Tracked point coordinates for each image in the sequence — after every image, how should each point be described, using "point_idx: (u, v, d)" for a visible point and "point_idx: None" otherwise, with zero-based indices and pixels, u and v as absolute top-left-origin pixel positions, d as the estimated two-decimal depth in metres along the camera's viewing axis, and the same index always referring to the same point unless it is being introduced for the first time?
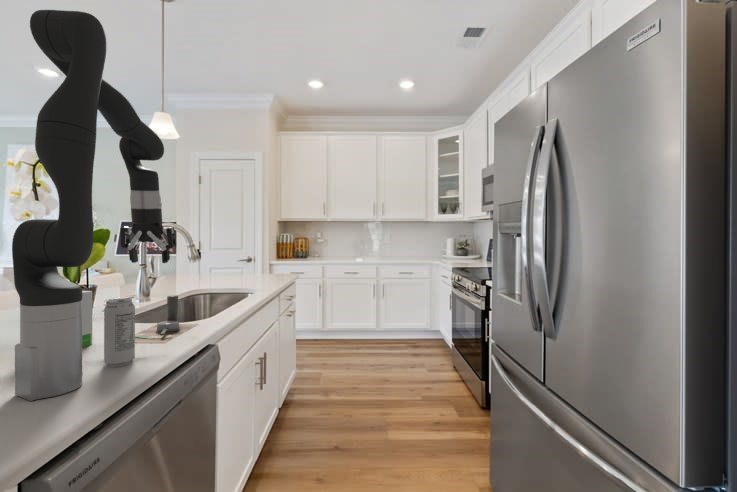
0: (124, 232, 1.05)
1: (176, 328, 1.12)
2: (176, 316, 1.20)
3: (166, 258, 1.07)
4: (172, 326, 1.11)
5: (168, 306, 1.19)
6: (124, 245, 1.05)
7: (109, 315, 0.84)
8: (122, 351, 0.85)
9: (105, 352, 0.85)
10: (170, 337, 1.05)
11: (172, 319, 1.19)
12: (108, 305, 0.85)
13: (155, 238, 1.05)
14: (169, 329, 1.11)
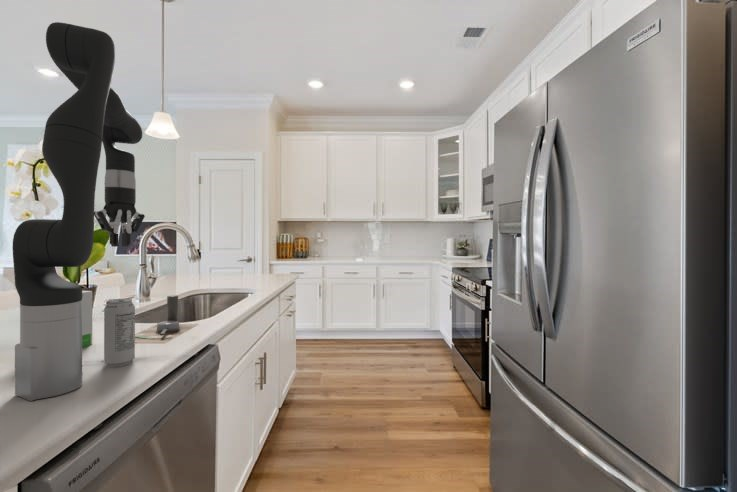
0: (103, 215, 1.03)
1: (176, 328, 1.12)
2: (176, 316, 1.20)
3: (129, 241, 1.10)
4: (172, 326, 1.11)
5: (168, 306, 1.19)
6: (110, 228, 1.04)
7: (109, 315, 0.84)
8: (122, 351, 0.85)
9: (105, 352, 0.85)
10: (170, 337, 1.05)
11: (172, 319, 1.19)
12: (108, 305, 0.85)
13: (129, 219, 1.09)
14: (169, 329, 1.11)
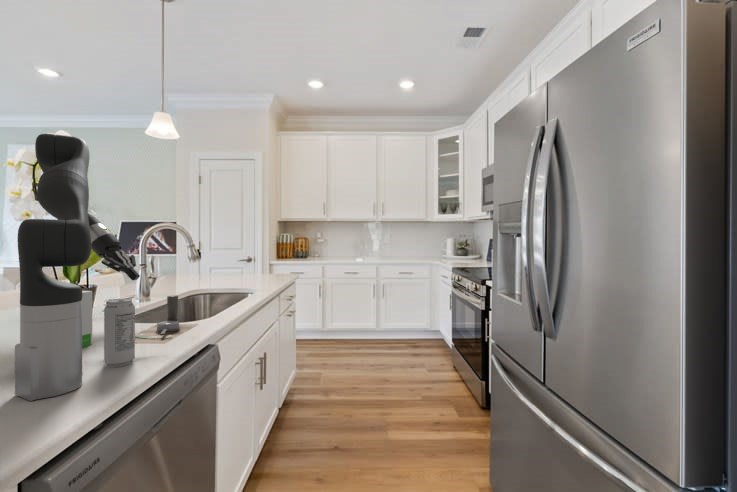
0: (111, 258, 1.17)
1: (176, 328, 1.12)
2: (176, 316, 1.20)
3: (137, 273, 1.22)
4: (172, 326, 1.11)
5: (168, 306, 1.19)
6: (123, 265, 1.19)
7: (109, 315, 0.84)
8: (122, 351, 0.85)
9: (105, 352, 0.85)
10: (170, 337, 1.05)
11: (172, 319, 1.19)
12: (108, 305, 0.85)
13: (126, 257, 1.23)
14: (169, 329, 1.11)
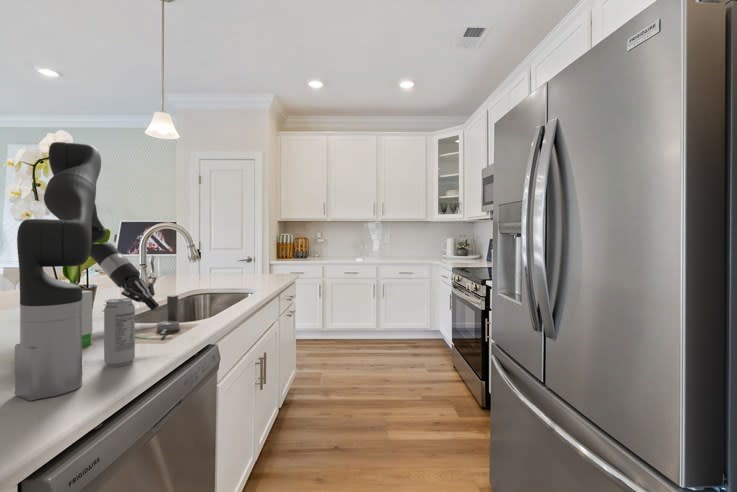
0: (131, 289, 1.17)
1: (176, 328, 1.12)
2: (176, 316, 1.20)
3: (156, 303, 1.22)
4: (172, 326, 1.11)
5: (168, 306, 1.19)
6: (143, 295, 1.19)
7: (109, 315, 0.84)
8: (122, 351, 0.85)
9: (105, 352, 0.85)
10: (170, 337, 1.05)
11: (172, 319, 1.19)
12: (108, 305, 0.85)
13: (145, 286, 1.23)
14: (169, 329, 1.11)
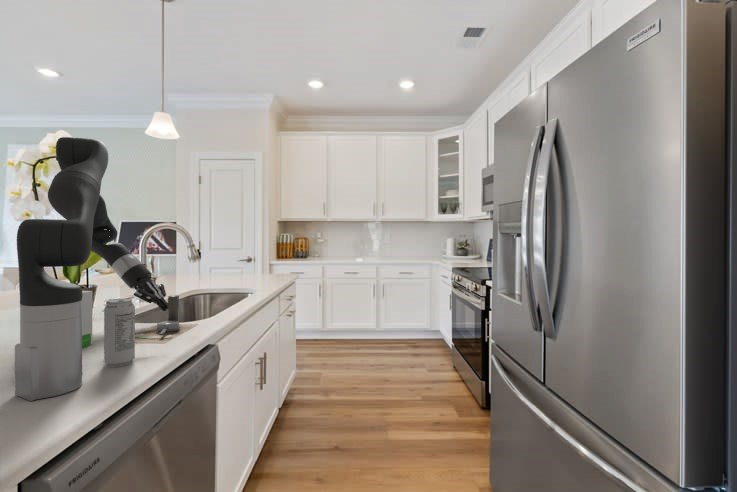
0: (143, 290, 1.17)
1: (176, 328, 1.12)
2: (177, 316, 1.20)
3: None
4: (172, 326, 1.11)
5: (169, 306, 1.19)
6: (155, 296, 1.19)
7: (109, 315, 0.84)
8: (122, 351, 0.85)
9: (105, 352, 0.85)
10: (170, 337, 1.05)
11: (173, 319, 1.19)
12: (108, 305, 0.85)
13: (157, 287, 1.22)
14: (169, 329, 1.11)
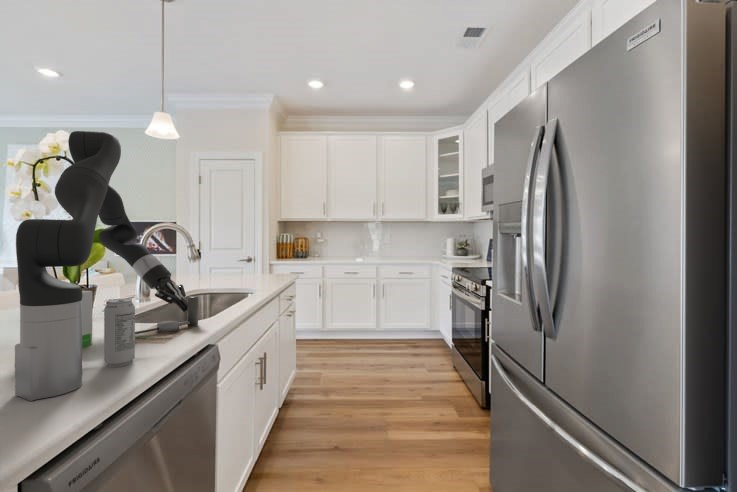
0: (164, 290, 1.16)
1: (167, 330, 1.10)
2: (192, 318, 1.18)
3: None
4: (162, 327, 1.10)
5: None
6: (175, 297, 1.19)
7: (109, 315, 0.84)
8: (122, 351, 0.85)
9: (105, 352, 0.85)
10: (170, 337, 1.05)
11: (188, 320, 1.18)
12: (108, 305, 0.85)
13: (177, 288, 1.22)
14: (160, 329, 1.10)
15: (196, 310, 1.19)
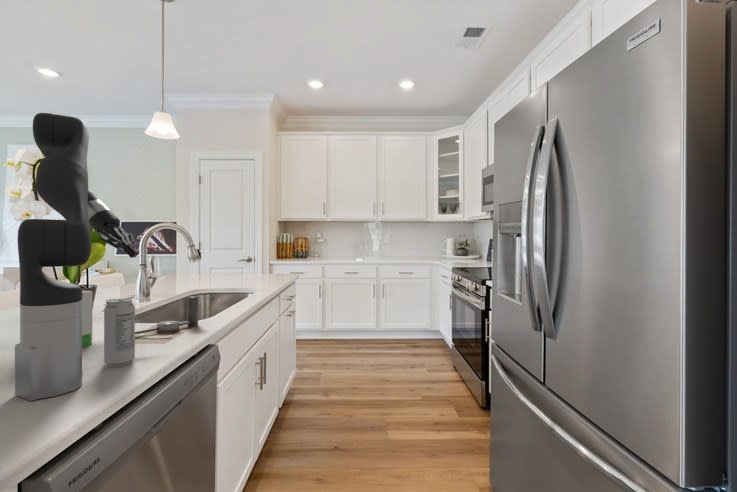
0: (109, 234, 1.15)
1: (167, 330, 1.10)
2: (192, 318, 1.18)
3: (136, 251, 1.20)
4: (162, 327, 1.10)
5: None
6: (122, 241, 1.17)
7: (109, 315, 0.84)
8: (122, 351, 0.85)
9: (105, 352, 0.85)
10: (170, 337, 1.05)
11: (188, 320, 1.18)
12: (108, 305, 0.85)
13: (125, 234, 1.20)
14: (160, 329, 1.10)
15: (196, 310, 1.19)
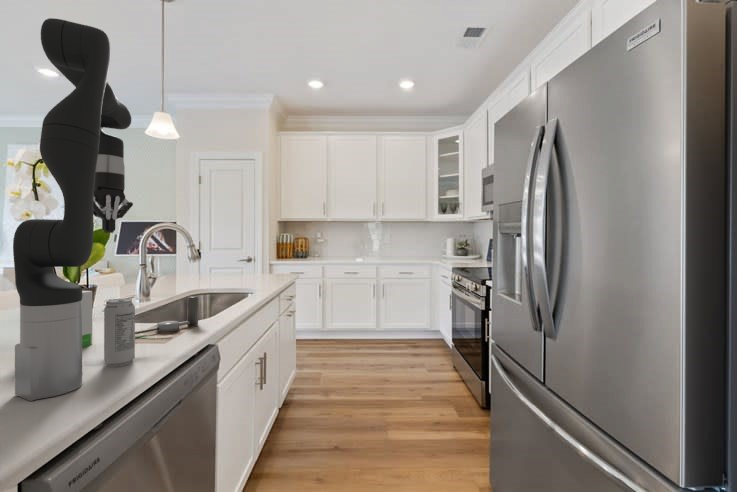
0: (93, 202, 1.02)
1: (167, 330, 1.10)
2: (192, 318, 1.18)
3: (114, 228, 1.08)
4: (162, 327, 1.10)
5: None
6: (102, 214, 1.04)
7: (109, 315, 0.84)
8: (122, 351, 0.85)
9: (105, 352, 0.85)
10: (170, 337, 1.05)
11: (188, 320, 1.18)
12: (108, 305, 0.85)
13: (117, 205, 1.07)
14: (160, 329, 1.10)
15: (196, 310, 1.19)
